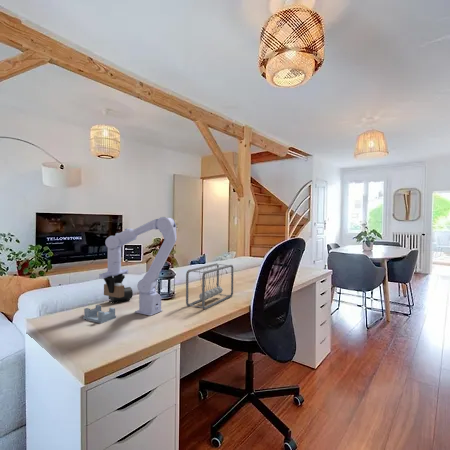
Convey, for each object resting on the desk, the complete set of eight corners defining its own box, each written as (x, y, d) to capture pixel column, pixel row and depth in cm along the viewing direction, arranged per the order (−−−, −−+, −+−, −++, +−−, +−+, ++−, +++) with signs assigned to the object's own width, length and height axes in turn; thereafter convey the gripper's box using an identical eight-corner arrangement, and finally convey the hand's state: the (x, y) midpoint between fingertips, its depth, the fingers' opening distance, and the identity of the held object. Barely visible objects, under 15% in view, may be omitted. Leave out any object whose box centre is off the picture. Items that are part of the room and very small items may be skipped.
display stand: (116, 317, 118) (116, 308, 118) (100, 323, 111) (101, 313, 111) (98, 313, 123) (98, 304, 123) (83, 319, 116) (83, 308, 116)
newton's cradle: (217, 293, 160) (217, 262, 160) (233, 296, 155) (233, 264, 155) (185, 307, 134) (185, 270, 134) (203, 310, 129) (203, 272, 129)
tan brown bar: (124, 296, 126) (124, 283, 126) (119, 297, 124) (119, 284, 124) (108, 293, 131) (108, 281, 131) (103, 295, 128) (103, 282, 128)
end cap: (114, 304, 137) (114, 291, 137) (107, 302, 142) (107, 288, 142) (132, 300, 144) (133, 287, 144) (126, 298, 149) (126, 285, 149)
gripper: (120, 259, 135) (120, 287, 136) (94, 263, 123) (94, 294, 123) (131, 260, 132) (131, 289, 132) (105, 264, 119) (105, 296, 119)
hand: (114, 291), depth 127 cm, fingers closed on tan brown bar, 3 cm apart
